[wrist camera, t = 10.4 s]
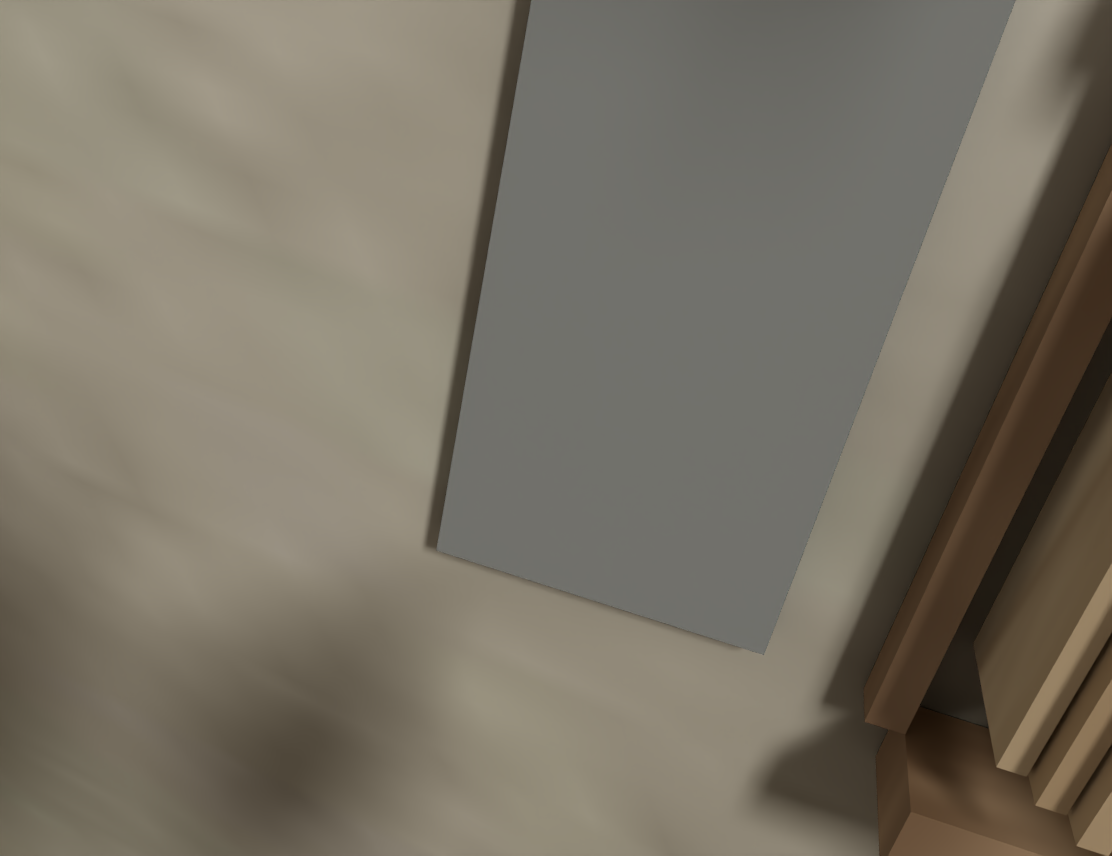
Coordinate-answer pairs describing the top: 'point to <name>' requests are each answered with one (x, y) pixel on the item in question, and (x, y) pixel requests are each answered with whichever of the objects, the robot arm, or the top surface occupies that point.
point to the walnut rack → (956, 571)
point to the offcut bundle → (1060, 645)
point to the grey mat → (697, 287)
